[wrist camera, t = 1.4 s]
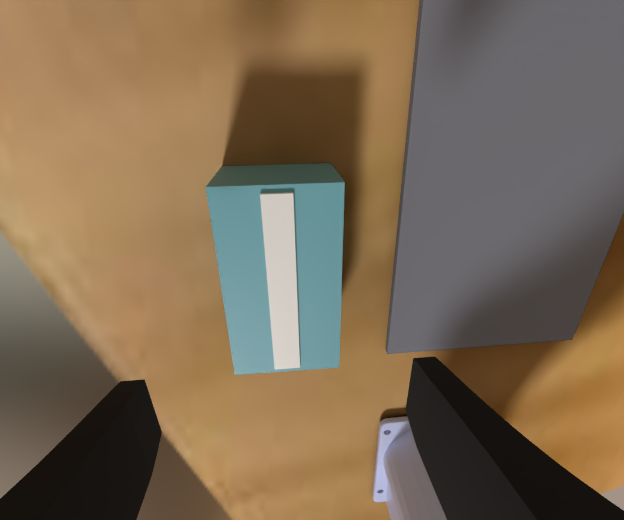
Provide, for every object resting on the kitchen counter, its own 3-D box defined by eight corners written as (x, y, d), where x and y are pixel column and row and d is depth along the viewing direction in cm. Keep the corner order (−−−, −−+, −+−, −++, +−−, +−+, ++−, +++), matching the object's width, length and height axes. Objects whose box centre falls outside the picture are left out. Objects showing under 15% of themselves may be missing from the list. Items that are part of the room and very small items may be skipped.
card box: (328, 318, 20) (339, 369, 16) (242, 323, 20) (234, 377, 16) (330, 162, 16) (345, 183, 12) (222, 165, 16) (204, 188, 12)
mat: (567, 335, 22) (572, 339, 22) (385, 349, 21) (387, 354, 21) (705, -14, 14) (717, -17, 14) (421, -13, 13) (424, -16, 13)
